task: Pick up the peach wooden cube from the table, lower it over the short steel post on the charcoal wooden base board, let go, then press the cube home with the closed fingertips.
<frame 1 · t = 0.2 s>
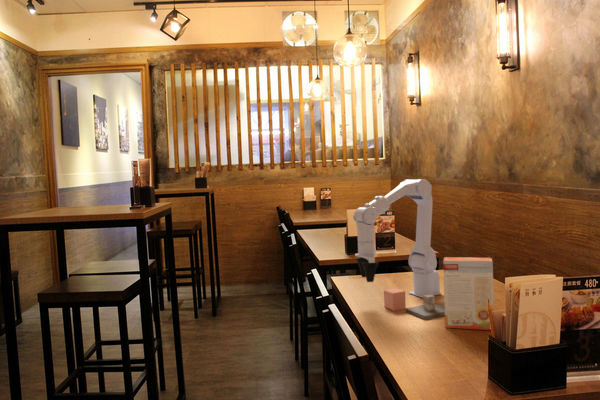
hand: (367, 279, 170), 10 cm above the table, tool pointing down, fingers open, 7 cm apart
post board: (429, 312, 160), on the table
cracker box: (469, 327, 146), on the table
peach wooden cube: (395, 307, 168), on the table
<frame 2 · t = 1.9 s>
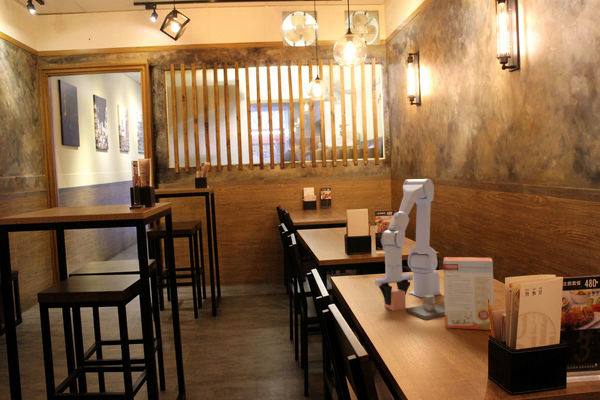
hand: (394, 303, 168), 2 cm above the table, tool pointing down, fingers closed on peach wooden cube, 5 cm apart
peach wooden cube: (395, 307, 168), on the table, touching gripper
everything else where it was.
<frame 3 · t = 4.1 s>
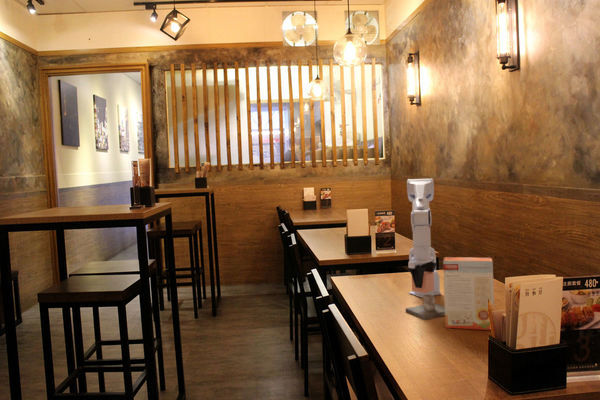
hand: (423, 285, 161), 9 cm above the table, tool pointing down, fingers closed on peach wooden cube, 5 cm apart
peach wooden cube: (423, 290, 161), point 7 cm above the table, touching gripper
everything else where it was.
when the fingers open (4 cm above the table, at t = 6.3 s): peach wooden cube drops 1 cm, resting on post board.
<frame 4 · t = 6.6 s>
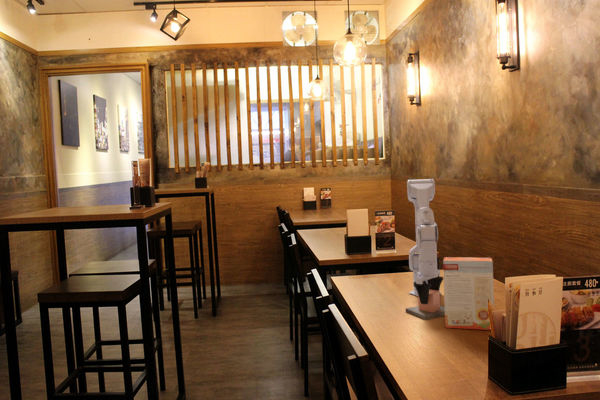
hand: (429, 300, 160), 4 cm above the table, tool pointing down, fingers open, 7 cm apart
peach wooden cube: (429, 309, 160), point 1 cm above the table, touching post board
everything else where it was.
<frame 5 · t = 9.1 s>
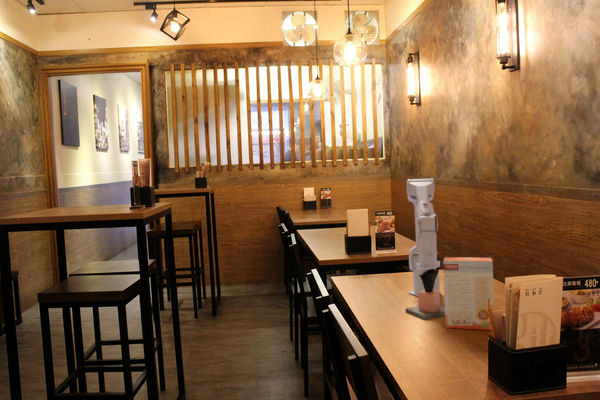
hand: (428, 291, 160), 7 cm above the table, tool pointing down, fingers closed, pressing on peach wooden cube
peach wooden cube: (429, 309, 160), point 1 cm above the table, touching gripper, post board
everything else where it was.
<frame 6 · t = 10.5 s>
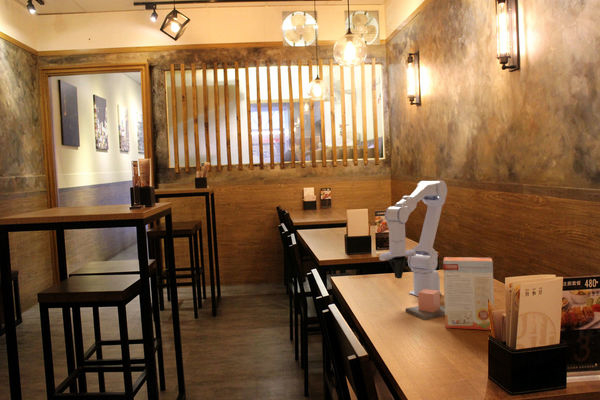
hand: (398, 277, 172), 9 cm above the table, tool pointing down, fingers closed
peach wooden cube: (429, 309, 160), point 1 cm above the table, touching post board
everything else where it was.
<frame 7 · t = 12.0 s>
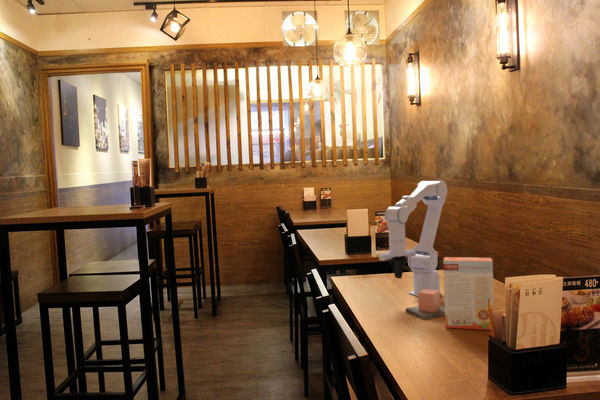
hand: (398, 277, 172), 9 cm above the table, tool pointing down, fingers closed
nothing on the table moved.
at the end: peach wooden cube 0.0 cm from the post board (horizontally); peach wooden cube point 1.2 cm above the table; peach wooden cube tilted 0° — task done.
